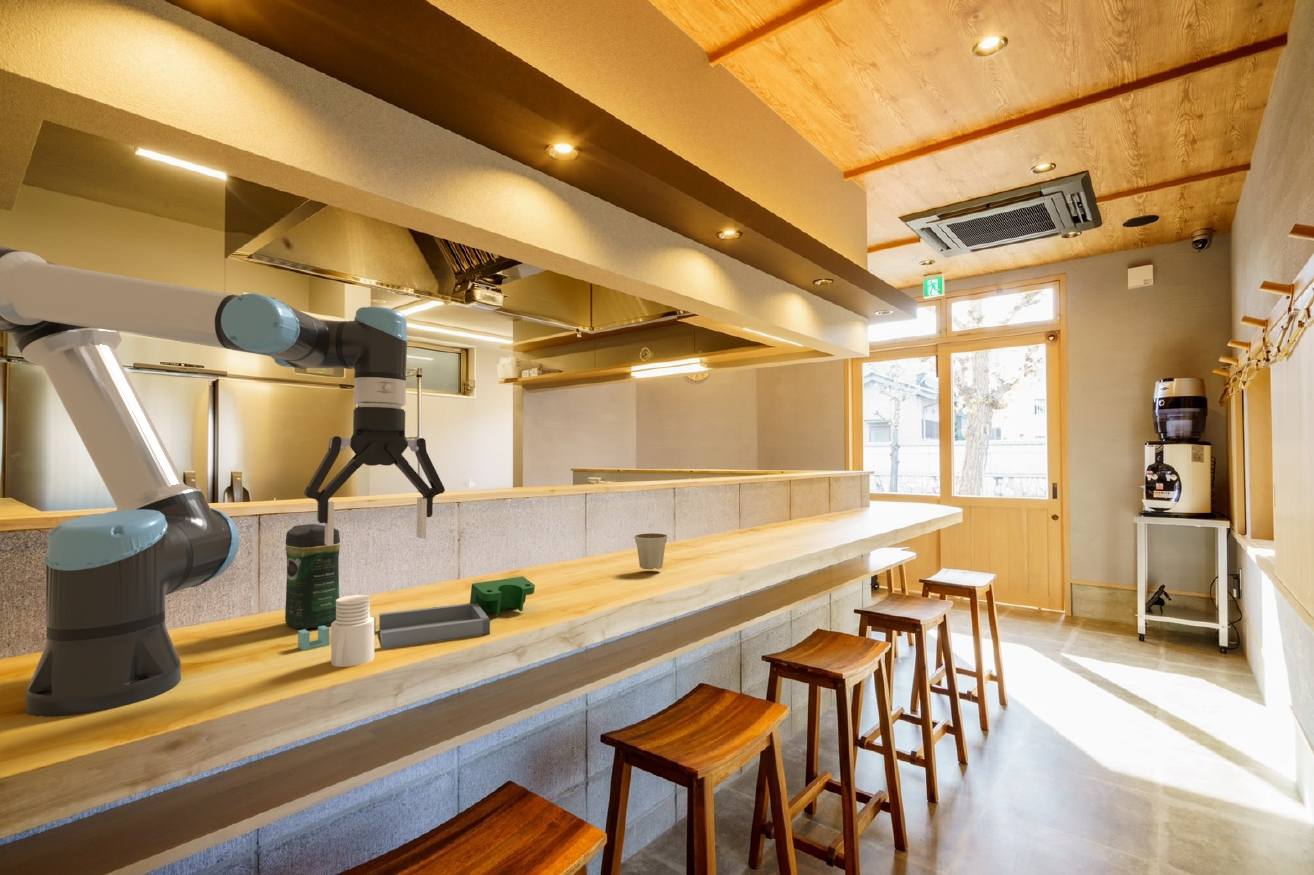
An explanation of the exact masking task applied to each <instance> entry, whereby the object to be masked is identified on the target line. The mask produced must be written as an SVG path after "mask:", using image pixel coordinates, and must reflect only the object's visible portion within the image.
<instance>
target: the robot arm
mask: <svg viewBox="0 0 1314 875" xmlns="http://www.w3.org/2000/svg"><path fill="white" fill-rule="evenodd" d="M406 318H407V317H406V316H405V315H404V314H403V313H402V312H401V311H399V310H396V309H394V308H389V307H388V308H387V307H384V306H383V307H381V306H367V307H366V306H363V307H358V309H356V311H355V316H354V320H347V321H346V320H344V321H343V320H342V321H341V320H326V319H325V320H324V319H319V318H316V317H314V316H313V315H310V314H308V313H305V312H302V311H301V310H299V309H296V308H295V307H292V306H291V305H288V304H286V303H284V302H283V301H281V300H279V298H275V297H271V296H267V295H263V294H260V293H251V292H250V293H245V294H241V295H237V294H234V293H228V292H222V291H217V290H216V291H215V290H209V289H205V288H200V287H199V288H197V287H194V286H188V285H187V286H185V285H180V284H174V283H170V282H169V283H168V282H162V281H157V280H150V279H144V278H137V277H132V276H127V275H126V276H125V275H120V274H114V273H108V272H101V271H95V270H91V269H83V268H77V267H72V266H66V265H59V264H56V263H53V262H50V261H47V260H45V259H44V258H42V257H41V256H39V255H38V254H35V253H32V252H29V251H24V250H23V251H22V250H18V249H17V250H16V249H14V248H10V247H7V246H3V245H0V332H2V333H8V334H9V335H11V337H12V339H13V341H14V342H15V345H16V346H17V348H18V350H19V352H20V354H21V355H22V358H23V360H25V361H26V362H28V363H30V364H35V365H38V366H41V367H43V369H44V372H46V374H47V376H48V378H49V380H50V383H51V384H52V386H53V388H54V389H55V392H56V394H57V396H58V397H59V399H60V402H61V403H62V405H63V406H64V409H65V411H66V412H67V414H68V416H69V418H70V420H71V423H72V424H73V426H74V428H75V430H76V431H77V434H78V435H79V437H80V439H81V442H82V443H83V445H84V446H85V449H86V451H87V453H88V454H89V456H90V458H91V460H92V461H93V464H94V466H95V468H96V470H97V473H98V474H99V476H100V477H101V479H102V481H103V483H104V485H105V487H106V489H107V491H108V493H109V495H110V497H111V498H112V500H113V503H114V504H115V506H116V510H115V511H114V510H113V511H108V512H104V513H93V514H89V515H82V516H79V517H75V518H71V519H68V520H66V521H62V522H60V523H59V524H57V525H55V527H54V528H53V529H51V531H50V532H49V535H48V541H47V550H46V552H45V556H44V561H45V562H44V563H45V565H46V567H45V569H46V570H45V572H46V574H45V575H46V576H45V579H46V582H45V583H46V585H45V586H46V591H45V596H46V598H45V599H46V606H45V608H46V616H45V617H46V618H45V619H46V620H45V622H46V626H45V627H46V630H45V632H46V636H45V637H46V641H45V647H44V649H43V651H42V654H41V656H40V659H39V660H38V664H37V666H36V668H35V670H34V672H33V675H32V677H31V678H30V682H29V685H28V687H27V689H26V692H25V713H27V714H28V715H30V714H31V715H30V716H32V715H35V716H34V717H39V716H41V718H42V716H43V718H53V717H54V718H55V717H56V718H58V717H71V716H77V715H78V716H79V715H84V714H85V715H86V714H92V713H97V712H104V711H108V709H109V710H113V709H119V708H122V707H126V706H130V705H132V704H136V703H140V702H143V701H146V700H149V699H151V698H154V697H156V696H159V695H161V694H163V693H165V692H167V691H169V690H172V689H173V688H175V687H176V686H177V685H178V684H179V683H180V682H181V680H182V663H181V660H180V657H179V655H178V653H177V650H176V647H175V646H174V643H173V641H172V638H171V636H170V634H169V632H168V629H167V626H166V596H167V595H171V594H173V593H177V592H179V591H182V590H185V589H188V588H194V587H198V586H201V585H203V584H205V583H207V582H209V581H210V580H212V579H214V578H217V577H218V576H220V575H221V574H223V573H224V572H226V571H227V570H228V569H229V567H230V566H231V565H232V564H233V562H234V560H235V558H236V557H237V556H236V555H237V554H238V551H239V547H240V533H239V530H238V528H237V524H235V521H234V520H233V519H232V518H231V517H230V516H229V515H228V514H226V513H225V512H223V511H220V510H218V509H215V508H210V504H209V503H208V501H207V500H206V498H205V495H204V494H203V492H202V491H201V489H199V488H195V487H192V486H189V485H186V484H185V482H184V481H183V479H182V477H181V474H180V473H179V471H178V468H176V467H177V466H176V465H175V463H174V461H173V460H172V457H171V456H170V454H169V452H168V450H167V448H166V446H165V444H164V443H163V440H162V439H161V437H160V434H159V433H158V430H157V429H156V427H155V425H154V423H153V422H152V419H151V417H150V416H149V414H148V412H147V409H146V408H145V406H144V404H143V401H142V400H141V398H140V397H139V394H138V392H137V390H136V388H135V386H134V385H133V383H132V381H131V378H130V377H129V374H128V373H127V371H126V369H125V367H124V366H123V363H122V362H121V360H120V358H119V356H118V353H117V352H116V349H117V348H118V347H119V345H120V344H121V342H122V336H121V334H120V333H123V334H129V335H136V336H142V337H148V338H154V339H155V338H156V339H161V340H168V341H174V342H181V343H187V344H195V345H199V346H207V347H214V348H219V349H226V350H227V349H228V350H232V351H236V352H243V353H249V354H255V355H261V356H267V357H270V358H271V359H273V361H274V363H276V364H277V365H278V366H280V367H284V368H296V369H297V368H298V369H300V370H306V369H346V370H352V369H353V370H354V373H353V374H354V377H353V378H354V384H353V385H354V386H353V403H354V404H355V405H357V407H355V408H354V409H353V416H352V418H353V422H352V424H353V425H352V435H351V438H346V437H340V436H339V435H338V436H337V435H335V436H334V435H333V436H331V437H330V439H329V441H328V442H329V443H328V449H327V452H326V453H325V455H324V457H323V459H322V461H321V462H320V464H319V466H318V467H317V468H316V471H315V472H314V474H313V476H312V477H311V479H310V481H309V483H308V484H307V486H306V488H305V489H304V491H303V495H304V496H305V497H306V498H309V499H313V500H315V501H316V502H317V509H316V510H317V512H316V514H317V517H316V519H317V521H318V523H319V524H324V526H325V544H326V545H327V546H333V538H334V528H335V501H333V500H330V499H331V498H332V497H333V495H335V493H337V491H338V490H339V489H340V488H341V487H342V486H343V485H344V484H345V483H346V482H347V480H348V479H350V478H351V477H352V475H353V474H354V473H355V472H356V471H357V470H358V469H359V468H360V467H362V466H363V465H366V466H369V467H370V466H371V467H372V466H373V467H374V466H379V465H381V466H391V465H395V466H396V467H397V469H399V471H400V472H401V473H402V474H403V475H404V476H405V477H406V478H407V480H409V482H410V483H411V484H412V485H413V487H414V488H416V490H417V491H418V492H419V493H420V494H421V495H422V497H421V496H420V497H417V498H416V501H417V503H416V538H418V539H421V540H422V539H423V540H424V539H427V518H432V516H433V503H434V501H433V500H434V498H435V496H437V495H441V494H444V493H445V491H446V488H445V486H444V485H443V482H442V480H441V479H440V476H439V474H438V472H437V470H436V468H435V466H434V464H433V462H432V459H431V458H430V456H429V453H428V451H427V443H426V442H427V441H426V439H425V438H424V437H417V438H414V439H407V437H406V411H405V409H403V408H402V407H404V406H405V405H407V404H406V403H407V402H406V399H407V398H406V395H407V394H406V392H407V391H406V387H407V386H406V384H407V382H406V380H407V376H406V375H407V355H408V352H407V351H408V343H409V339H408V337H407V335H408V333H407V319H406ZM348 446H349V447H350V448H351V450H352V451H353V452H354V455H353V457H352V458H351V459H350V460H349V461H348V462H347V463H346V464H345V465H344V467H342V469H341V470H340V471H339V472H338V473H337V474H336V475H335V476H334V477H333V478H332V480H330V481H329V482H328V484H326V486H325V487H324V488H322V490H321V491H319V490H320V488H321V486H322V484H323V483H324V480H325V479H326V477H327V475H328V474H329V473H330V470H331V469H332V468H333V465H334V464H335V462H336V460H337V458H338V456H339V454H340V452H344V451H345V450H346V448H347V447H348ZM407 448H410V451H411V452H414V454H415V456H416V459H417V461H418V462H419V465H420V467H421V470H423V473H424V475H425V477H426V479H427V481H428V483H429V485H430V486H429V485H428V484H427V483H426V482H425V481H424V479H423V478H422V477H421V476H420V475H419V474H418V473H417V472H416V470H415V469H414V468H413V467H412V466H411V465H410V463H409V461H408V460H407V459H406V458H405V456H404V455H403V453H404V452H405V451H406V449H407ZM103 710H104V711H103Z"/></svg>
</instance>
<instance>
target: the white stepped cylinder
mask: <svg viewBox="0 0 1314 875" xmlns="http://www.w3.org/2000/svg"><path fill="white" fill-rule="evenodd" d="M336 603H337V604H336V621H334V622H332V623H331V624H330V626H331V627H330V628H331V631H330V632H331V633H330V634H331V637H330V640H331V641H330V642H331V643H330V645H331V647H330V650H331V652H330V654H331V656H330V657H331V659H330V660H331V661H330V663H331V666H334V667H339V668H347V667H349V668H350V667H354V666H355V667H356V666H361V665H364V664H367V663H369V662H372V661H373V660H374V659H375V634H374V618H373V617H374V616H371V607H370V606H371V596H370V595H366V594H365V595H364V594H355V595H347V596H342V597H339V599H337V600H336ZM370 616H371V617H370Z"/></svg>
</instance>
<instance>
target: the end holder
mask: <svg viewBox="0 0 1314 875" xmlns="http://www.w3.org/2000/svg"><path fill="white" fill-rule="evenodd" d="M378 616H379V623H378V625H379V630H378V632H379V636H380V643H381V649H382V650H386V649H387V650H388V649H393V647H394V648H399V647H407V646H415V645H416V646H417V645H422V644H423V645H424V644H429V643H437V642H445V641H450V640H460V639H465V638H466V639H467V638H472V637H473V638H475V637H481V636H488V635H489V636H490V635H491V618H490V617H489V616H488V615H487V613H485V612H484V611H483V610H482V609H481V607H480V606H479V605H478V604H477V602H476V603H470V602H469V603H461V604H459V603H458V604H451V605H450V604H449V605H442V606H434V607H425V608H424V607H423V608H417V609H408V610H399V611H391V612H382V613H381V612H380V613H379V615H378Z"/></svg>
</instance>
